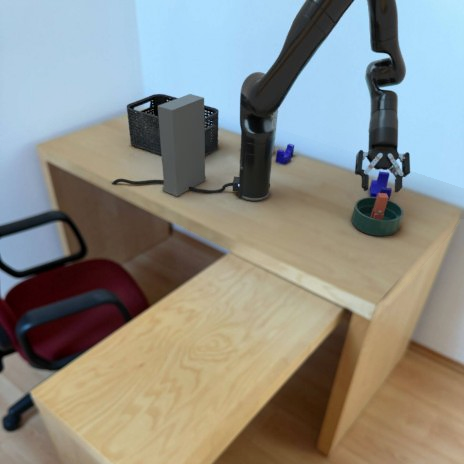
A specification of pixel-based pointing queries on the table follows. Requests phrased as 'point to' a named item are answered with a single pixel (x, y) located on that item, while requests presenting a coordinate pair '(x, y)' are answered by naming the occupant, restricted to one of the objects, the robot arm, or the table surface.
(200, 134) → the tall grey upright pillar
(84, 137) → the table surface
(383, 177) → the cable clip
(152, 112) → the storage bin
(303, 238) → the table surface
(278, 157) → the cable holder
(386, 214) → the bowl
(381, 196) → the clothespin
